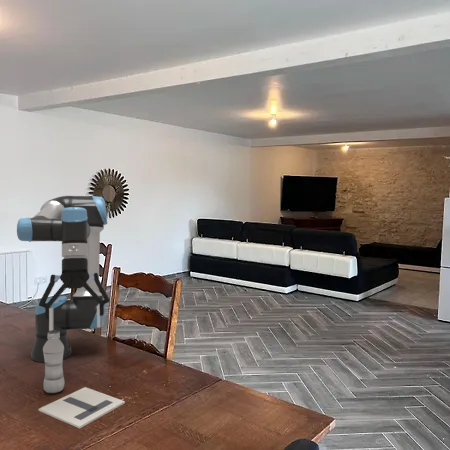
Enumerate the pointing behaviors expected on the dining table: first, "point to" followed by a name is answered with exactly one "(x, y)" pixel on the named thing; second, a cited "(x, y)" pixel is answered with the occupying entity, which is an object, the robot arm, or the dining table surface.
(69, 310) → the robot arm
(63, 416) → the letter board
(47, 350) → the plastic bottle
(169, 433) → the dining table surface
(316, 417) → the dining table surface
